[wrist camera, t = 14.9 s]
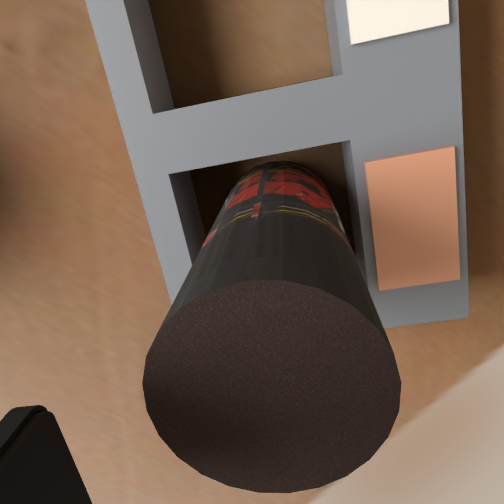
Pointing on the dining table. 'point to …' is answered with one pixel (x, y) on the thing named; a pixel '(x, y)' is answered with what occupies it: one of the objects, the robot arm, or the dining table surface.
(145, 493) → the dining table surface
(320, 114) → the socket board
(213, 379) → the deodorant
